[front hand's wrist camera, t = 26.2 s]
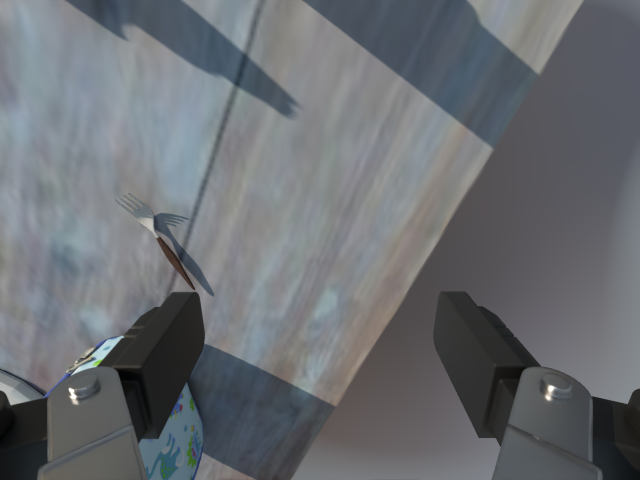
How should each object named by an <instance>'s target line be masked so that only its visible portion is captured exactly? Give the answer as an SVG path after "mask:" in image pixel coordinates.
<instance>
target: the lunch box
mask: <svg viewBox="0 0 640 480" xmlns="http://www.w3.org/2000/svg"><path fill="white" fill-rule="evenodd" d="M121 338H124V336H120V337H111V338H109V339H106V340H104V341H102V342H100V343H99V344H97V345H96V346H90V347H89V348H88V349H87V350H86V351H85V352H84V353H83V354H82V355H81V356H80V358H79V359H78V360H77V361H76V362H75V364H74V365H72V366H70V367H69V368H68V371H66V372H67V374H66V375H65V376H64V377H63V378H62V379H61V380H60V381H59V382H58V383H57V384H56V385H55V386H54V387H53V388H52V389H51V390H50V391H49V392H48V393H47V394H46V395H45V396H44V397H43V398H45V397H49V394H50V393H51V391H52V390H53V389H54V388H55V387H56V386H57V385H58V384H59V383H60V382H62V381H63V380H65V379H66V378H68V377H69V376H71V375H73V374H75V373H77V372H80V371H82V370H85V369H89V368H93V367H97V366H98V364H99V363H100V362H101V361H102V360H103V359H104V358H105V356H106V355H107V354H108V353H109V352H110V351H111V350H112V348H113V347H114V346H115V345H116V344H117V343H118V342H119V340H120V339H121ZM203 437H204V433H203V422H202V419H201V416H200V414H199V411H198V409H197V407H196V404H195V402H194V400H193V397H192V395H191V392H190V390H189V387H188V384H187V382H186V384H185V386H184V388H183V391H182V393H181V395H180V397H179V399H178V401H177V403H176V405H175V407H174V409H173V411H172V413H171V415H170V417H169V419H168V421H167V423H166V425H165V427H164V429H163V431H162V433H161V435H160V437H159V439H141V441H140V443H139V448H140V452H141V455H142V459H143V463H144V466H145V470H146V473H147V477H148V480H194V479H195V476H196V473H197V470H198V467H199V463H200V460H201V456H202V451H203Z"/></svg>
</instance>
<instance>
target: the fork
mask: <svg viewBox="0 0 640 480" xmlns="http://www.w3.org/2000/svg"><path fill="white" fill-rule="evenodd" d="M127 193H128V194H129V195H131V194H130V193H129V192H127ZM123 196H124V197H126V196H125V195H123ZM131 196H132V197H133V198H134V199H135V200H137V201H138V202H139V203H140V204H141V205H142V206H143V207H141V206H139V205H138V204H136V203H135V202H134V201H132V200H131V199H129V198H128V197H126V198H127V199H128V200H129V201H131V202H132V203H133V204H134V205H135V206H136V207H137V208H138V209H136V208H134V207H133V206H132V205H130V204H129V203H127V202H126V201H124V200H123V199H121V198H120V197H119V199H121V200H122V201H123V202H125V203H126V204H127V205H128V206H129V207H131V208H132V209H133V210H134V212H133V211H131V210H130V209H128V208H127V207H125V206H124V205H122V204H121V203H119V202H118V201H116V200H115V199H114V201H116V202H117V203H118V204H120V205H121V206H122V207H123V208H125V209H126V210H127V211H128V212H129V213H130V214H131V215H132V216H133V217H134V218H135V219H136V220H138V221H139V222H140V223H141V224H143V225H144V226H146V227H147V228H148V229H150V230H151V231H152V233H153V234H154V235H155V237H156V239H157V241H158V243H159V244H160V246H161V248H162V250H163V252H164V254H165V255H166V257H167V258H168V260H169V261H170V263H171V264H172V265H173V266H174V267H175V269H176V270H177V271H178V272H179V273H180V274H181V276H182V277H183V278H184V279H185V281H186V282H187V283H188V284H189V285H190V286H191V288H192V289H193V290H195V288H194V286H193V284H192V282H191V281H190V279H189V277H188V276H187V274H186V272H185V271H184V269H183V267H182V265H181V263H180V261H179V260H178V258H177V257H176V255H175V254H174V253H173V251H172V250H171V249H170V248H169V247H168V246H167V244H166V243H165V242H164V241H163V240H162V239H161V238H160V236H159V235H158V234H157V233H156V231H155V228H154V215H153V212H152V211H151V209H150V208H149V207H147V206H146V205H145V204H144V203H142V202H141V201H140V200H138V199H137V198H136V197H134V196H133V195H131Z"/></svg>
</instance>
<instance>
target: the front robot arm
mask: <svg viewBox="0 0 640 480" xmlns="http://www.w3.org/2000/svg"><path fill="white" fill-rule="evenodd" d="M204 340H205V331H204V324H203V317H202V310H201V303H200V297H199V294H198V293H197V292H173V293H171V294H170V296H169V297H168V298H167V299H166V300H165V302H164V303H163V304H162V305H161V307H155V308H153V309H151V310H150V311H148V312H147V313H145V314H143V315H142V316H141V317H140V318H139V319H138V320H137V321H136V322H135V323H134V325H133V326H132V328H131V329H129V330H128V331H127V333H126V334H125V335H124V338H121V339H120V340H119V342H118V343H117V344H116V345H115V346H114V347H113V348H112V350H111V351H110V352H109V353H108V354H107V355H106V356H105V358H104V359H103V360H102V361H101V362H100V363H99V364H98V366H97V367H93V368H89V369H85V370H82V371H80V372H77V373H75V374H73V375H71V376H69V377H68V378H66V379H65V380H63V381H62V382H60V383H59V384H58V385H57V386H56V387H55V388H54V389H53V390H52V391H51V393H50V394H49V397H45V398H41V399H36V400H32V401H27V402H23V403H18V404H14V405H10V402H9V400H8V397H7V395H6V393H5V392H3V391H1V390H0V480H148V477H147V473H146V470H145V466H144V463H143V459H142V455H141V452H140V448H139V443H140V441H141V439H159V437H160V435H161V433H162V431H163V429H164V427H165V425H166V423H167V421H168V419H169V417H170V415H171V413H172V411H173V409H174V407H175V405H176V403H177V401H178V399H179V397H180V395H181V393H182V391H183V388H184V386H185V384H186V382H187V380H188V378H189V376H190V374H191V372H192V370H193V368H194V366H195V364H196V362H197V360H198V358H199V356H200V354H201V352H202V350H203V346H204ZM434 344H435V348H436V351H437V353H438V355H439V357H440V359H441V361H442V363H443V365H444V367H445V369H446V371H447V373H448V375H449V377H450V380H451V382H452V384H453V386H454V388H455V390H456V392H457V394H458V396H459V398H460V400H461V402H462V404H463V406H464V408H465V410H466V412H467V414H468V416H469V418H470V420H471V423H472V425H473V427H474V429H475V431H476V433H477V435H478V437H479V438H496V439H497V441H498V443H499V445H500V447H501V448H500V452H499V456H498V459H497V463H496V466H495V470H494V473H493V477H492V480H640V389H637V390H635V391H634V392H633V393H632V395H631V398H630V400H629V402H628V404H624V403H619V402H615V401H611V400H606V399H602V398H597V397H593V396H591V395H590V393H589V391H588V390H587V389H586V388H585V387H584V386H583V385H582V384H581V383H580V382H578V381H577V380H575V379H574V378H572V377H571V376H569V375H567V374H565V373H563V372H560V371H558V370H555V369H551V368H547V367H541V366H540V364H539V363H538V362H537V361H536V360H535V359H534V358H533V356H532V355H531V354H530V353H529V352H528V351H527V350H526V348H525V347H524V346H523V345H522V344H521V343H520V341H519V340H518V339H517V338H516V337H514V335H513V333H512V332H511V331H510V330H509V329H508V328H506V325H505V324H504V323H503V322H502V321H501V320H500V318H499V317H498V316H497V315H495V314H494V313H492V312H491V311H489V310H487V309H486V308H484V307H482V306H477V305H476V304H475V303H474V301H473V300H472V299H471V298H470V296H469V295H468V294H467V293H466V292H464V291H442V292H441V293H440V294H439V297H438V304H437V311H436V318H435V325H434Z"/></svg>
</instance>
